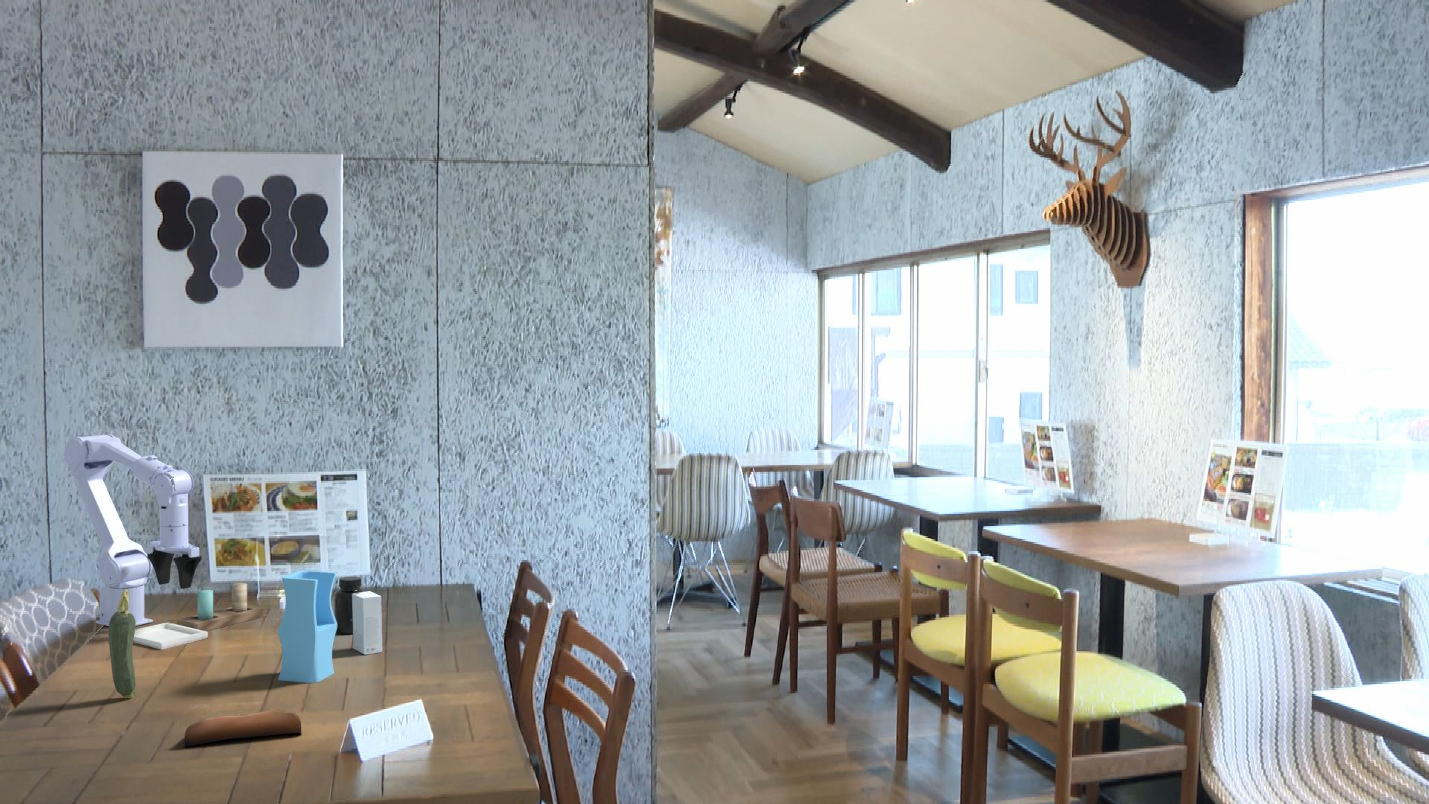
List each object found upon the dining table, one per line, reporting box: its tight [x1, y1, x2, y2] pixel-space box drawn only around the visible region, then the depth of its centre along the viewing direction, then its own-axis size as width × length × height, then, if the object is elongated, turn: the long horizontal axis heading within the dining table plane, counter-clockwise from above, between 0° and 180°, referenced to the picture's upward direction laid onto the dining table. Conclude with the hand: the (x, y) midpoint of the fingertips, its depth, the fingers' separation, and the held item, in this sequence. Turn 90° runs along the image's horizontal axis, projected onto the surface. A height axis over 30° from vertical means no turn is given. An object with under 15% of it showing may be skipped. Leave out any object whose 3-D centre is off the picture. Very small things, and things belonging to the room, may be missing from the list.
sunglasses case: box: [183, 710, 302, 748], centre depth 190 cm, size 18×7×7 cm
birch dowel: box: [231, 582, 248, 613], centre depth 264 cm, size 3×3×8 cm
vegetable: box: [107, 589, 136, 700], centre depth 205 cm, size 4×4×20 cm
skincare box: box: [352, 590, 383, 655], centre depth 240 cm, size 6×4×12 cm
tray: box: [133, 621, 209, 651], centre depth 246 cm, size 14×11×1 cm
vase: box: [277, 569, 338, 684], centre depth 222 cm, size 8×8×20 cm
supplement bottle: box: [333, 576, 365, 635], centre depth 256 cm, size 7×7×12 cm
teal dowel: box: [197, 589, 214, 621], centre depth 257 cm, size 3×3×8 cm
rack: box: [177, 603, 267, 632], centre depth 261 cm, size 18×7×2 cm, turn 150°
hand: (174, 586), depth 251 cm, fingers open, 7 cm apart
